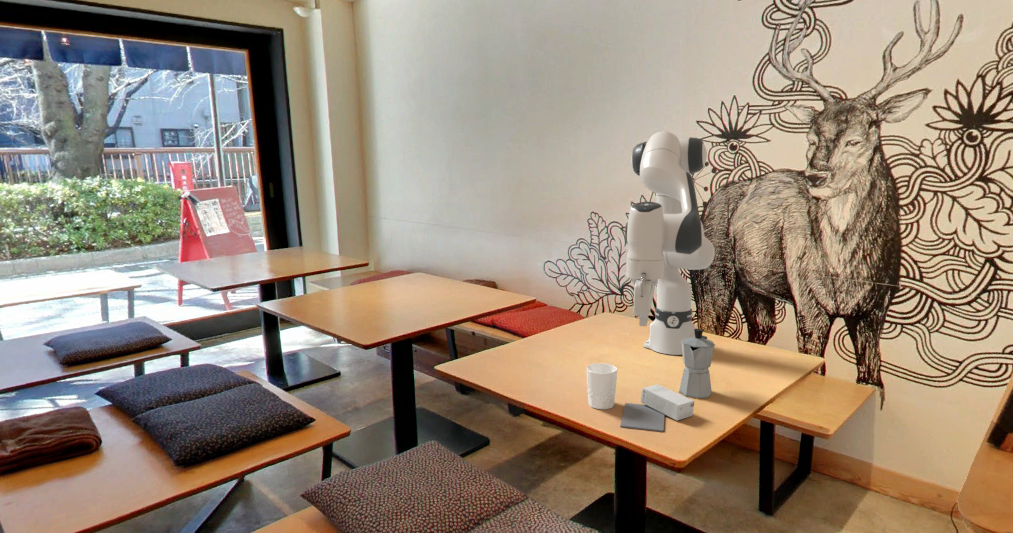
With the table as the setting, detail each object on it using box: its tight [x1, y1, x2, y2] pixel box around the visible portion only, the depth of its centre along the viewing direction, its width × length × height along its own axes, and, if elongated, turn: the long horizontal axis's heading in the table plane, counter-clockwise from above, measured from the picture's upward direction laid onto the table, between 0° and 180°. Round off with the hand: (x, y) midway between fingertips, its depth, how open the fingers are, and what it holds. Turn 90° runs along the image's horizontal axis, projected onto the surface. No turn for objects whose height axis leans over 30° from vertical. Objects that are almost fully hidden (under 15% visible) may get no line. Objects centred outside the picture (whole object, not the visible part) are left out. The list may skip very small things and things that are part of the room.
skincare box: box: [640, 384, 695, 421], centre depth 149 cm, size 6×4×12 cm
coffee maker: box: [678, 328, 716, 400], centre depth 160 cm, size 15×9×18 cm, turn 151°
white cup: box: [586, 362, 618, 410], centre depth 153 cm, size 8×8×10 cm
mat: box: [619, 402, 666, 433], centre depth 146 cm, size 14×10×1 cm
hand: (643, 324), depth 145 cm, fingers closed
